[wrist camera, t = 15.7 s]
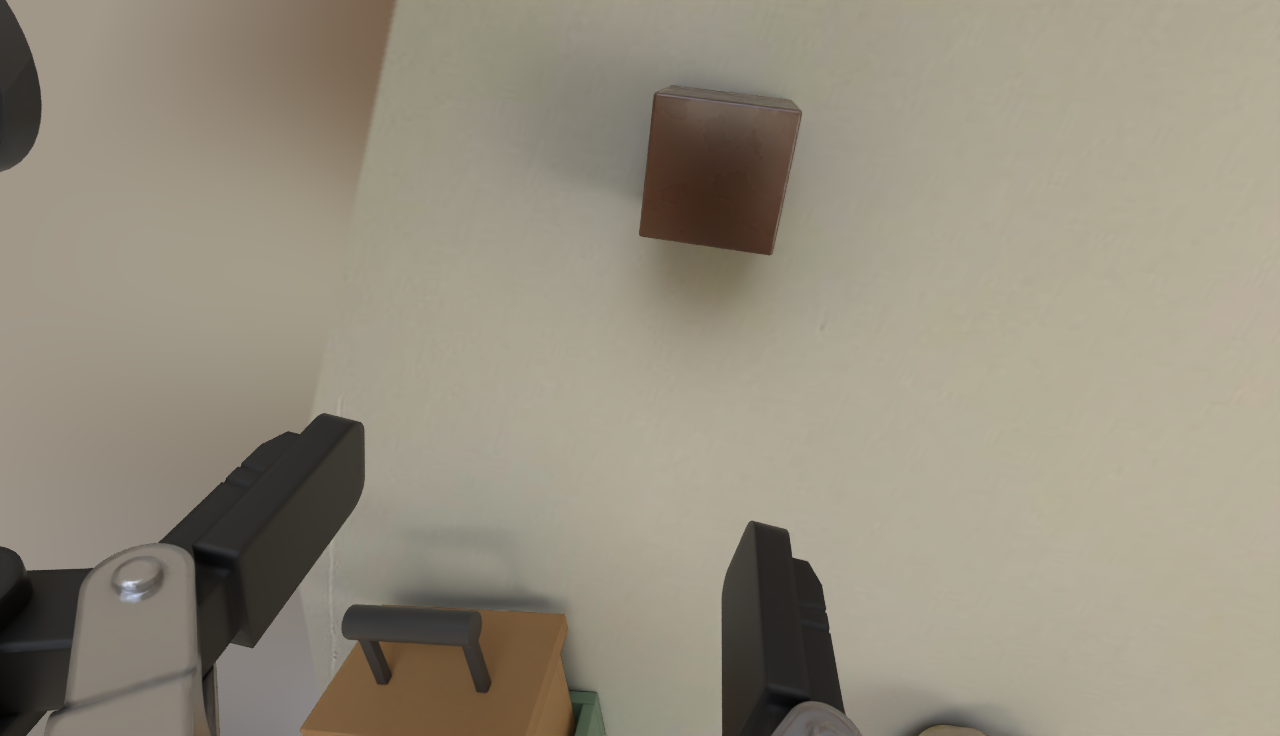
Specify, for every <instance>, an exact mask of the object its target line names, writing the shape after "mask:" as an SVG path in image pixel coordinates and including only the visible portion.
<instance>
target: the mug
mask: <svg viewBox="0 0 1280 736" xmlns="http://www.w3.org/2000/svg"><path fill="white" fill-rule="evenodd" d="M919 736H989V735H987V734H984V733H982V732H981V731H979V730H977V729H974V728H964V727H956V726H950V725H937V726H933V727H931V728H928V729H926V730H925V731H923V732H922V733H921V734H920V735H919Z"/></svg>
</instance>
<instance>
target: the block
mask: <svg viewBox="0 0 1280 736" xmlns="http://www.w3.org/2000/svg"><path fill="white" fill-rule="evenodd" d="M801 116H802V111H801V110H800V109H799V108H798V107H797V106H796V104H795V103H794V102H793V101H792V100H787V99H779V98H771V97H763V96H755V95H747V94H739V93H731V92H723V91H715V90H707V89H699V88H691V87H683V86H675V85H672V86H669V87H667V88H665V89H662V90H660V91H658V92H656V93H655V94H654V98H653V107H652V117H651V126H650V136H649V145H648V155H647V164H646V174H645V183H644V193H643V202H642V211H641V221H640V230H639V235H640V236H641V237H648V238H655V239H661V240H668V241H675V242H682V243H689V244H695V245H702V246H709V247H716V248H723V249H729V250H736V251H743V252H750V253H757V254H763V255H772V253H773V249H774V245H775V240H776V235H777V230H778V226H779V221H780V216H781V211H782V207H783V202H784V197H785V192H786V188H787V183H788V178H789V173H790V169H791V164H792V159H793V154H794V150H795V145H796V140H797V135H798V131H799V126H800V121H801Z"/></svg>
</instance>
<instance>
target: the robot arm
mask: <svg viewBox="0 0 1280 736" xmlns="http://www.w3.org/2000/svg"><path fill="white" fill-rule="evenodd" d="M364 480H365V447H364V426H363V424H362V423H361V422H358V421H354V420H350V419H346V418H342V417H338V416H334V415H330V414H326V413H323V414H320V415H319V416H317V417H316V418H315V419H314V420H313V421H312V422H311V423H310V424H309V425H308V426H307V427H306V428H305V430H304V431H303V432H302V433H301V434H297V433H293V432H289V431H288V432H286V433H283V434H281V435H279V436H277V437H275V438H273V439H272V440H269V441H267V442H265V443H263V444H261V445H260V446H259V447H258V448H257V449H256V450H255V451H254V452H253V453H252V454H251V455H250V456H249V457H247V458H246V460H244V461H243V462H242V464H241V467H237V468H236V469H235V470H234V471H233V472H232V473H231V474H230V475H229V476H228V477H227V478H226V480H225V482H224V483H223V482H222V483H220V484H219V485H218V486H217V487H216V488H215V489H214V490H213V491H212V492H211V493H210V494H209V495H208V496H207V497H206V498H205V499H204V500H203V501H202V502H201V503H200V504H198V505H197V506H196V508H194V509H193V510H192V511H191V512H190V513H189V514H188V515H187V516H186V517H185V518H184V519H183V520H182V521H181V522H180V523H179V524H178V525H177V526H176V527H175V528H173V529H172V530H171V531H170V532H169V533H168V534H167V535H166V536H165V537H164V538H163V539H162V540H161V541H159V542H158V543H153V544H145V545H139V546H136V547H131V548H129V549H126V550H123V551H121V552H118V553H116V554H114V555H112V556H110V557H109V558H107V559H105V560H104V561H102V562H101V563H100V564H98V565H97V566H96V567H95V568H88V569H61V570H33V571H26V569H25V567H24V564H23V562H22V560H21V558H20V556H19V555H18V554H17V553H16V552H14V551H12V550H10V549H8V548H5V547H0V736H26V735H27V734H28V733H29V732H30V731H31V729H32V728H33V727H34V726H35V725H36V724H37V723H38V721H39V720H40V719H41V718H42V717H43V716H44V715H45V713H46V712H47V711H50V710H57V711H54V712H53V713H52V714H51V715H50V716H49V718H48V721H47V724H46V727H45V732H44V736H220V728H219V708H218V686H217V668H216V660H217V659H218V658H219V656H220V655H221V654H222V653H223V651H224V650H225V649H226V647H227V646H228V644H229V643H233V644H237V645H241V646H245V647H250V648H254V646H255V645H256V644H257V642H258V641H259V639H260V638H261V637H262V635H263V634H264V633H265V631H266V630H267V628H268V627H269V626H270V624H271V623H272V622H273V620H274V619H275V617H276V616H277V615H278V613H279V612H280V610H281V609H282V608H283V606H284V605H285V604H286V602H287V601H288V599H289V598H290V597H291V595H292V594H293V593H294V591H295V590H296V588H297V587H298V586H299V584H300V583H301V582H302V580H303V579H304V577H305V576H306V575H307V573H308V572H309V570H310V569H311V568H312V566H313V565H314V564H315V562H316V561H317V559H318V558H319V557H320V555H321V554H322V553H323V551H324V550H325V548H326V547H327V546H328V544H329V543H330V541H331V540H332V539H333V537H334V536H335V535H336V533H337V532H338V530H339V529H340V528H341V526H342V525H343V524H344V522H345V521H346V519H347V518H348V517H349V515H350V514H351V513H352V511H353V510H354V508H355V507H356V505H357V503H358V501H359V499H360V496H361V493H362V490H363V486H364ZM825 610H826V606H825V600H824V595H823V589H822V584H821V583H820V581H819V579H818V578H817V576H816V574H815V573H814V571H813V569H812V567H811V566H810V564H809V562H808V561H804V560H800V559H796V558H792V552H791V544H790V537H789V533H788V531H787V530H786V529H783V528H779V527H775V526H771V525H767V524H763V523H759V522H755V521H750V522H749V523H748V525H747V527H746V529H745V531H744V533H743V536H742V538H741V540H740V543H739V545H738V547H737V549H736V552H735V554H734V556H733V558H732V561H731V563H730V565H729V568H728V570H727V573H726V576H725V580H724V585H723V591H722V736H862V734H861V733H860V731H859V730H858V728H857V727H856V726H855V725H854V723H853V722H852V721H851V720H850V719H849V718H848V717H847V716H846V714H845V711H844V707H843V701H842V696H841V690H840V685H839V679H838V673H837V668H836V662H835V656H834V651H833V645H832V640H831V634H830V633H829V623H828V617H827V613H825Z"/></svg>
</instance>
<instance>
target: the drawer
mask: <svg viewBox="0 0 1280 736" xmlns="http://www.w3.org/2000/svg"><path fill="white" fill-rule="evenodd" d="M567 631H568V625H567V621H566V616H565V614H553V613H534V612H514V611H495V610H475V609H456V608H436V607H416V606H397V605H382V606H378V605H358V604H355V605H352V606H351V607H349V608H348V610H347V611H346V613H345V615H344V617H343V621H342V634H343V636H344V637H345V638H346V639H349V640H358V642H357V644H356V645H355V647H354V648H353V650H352V651H351V653H350V654H349V656H348V657H347V659H346V660H345V662H344V663H343V665H342V666H341V668H340V669H339V671H338V672H337V674H336V675H335V677H334V678H333V680H332V681H331V683H330V684H329V686H328V687H327V689H326V690H325V692H324V693H323V695H322V696H321V698H320V700H319V701H318V703H317V704H316V706H315V707H314V709H313V710H312V712H311V713H310V715H309V716H308V718H307V720H306V721H305V722H304V724H303V725H302V727H301V729H300V731H301V733H302V735H303V736H575V732H576V728H577V726H576V721H575V717H574V713H573V708H572V704H571V700H570V695H569V691H568V686H567V682H566V678H565V673H564V669H563V665H562V660H561V656H560V654H561V650H562V647H563V644H564V641H565V638H566V634H567Z"/></svg>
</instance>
